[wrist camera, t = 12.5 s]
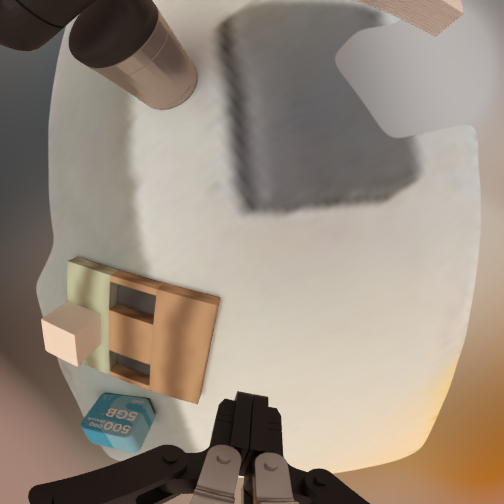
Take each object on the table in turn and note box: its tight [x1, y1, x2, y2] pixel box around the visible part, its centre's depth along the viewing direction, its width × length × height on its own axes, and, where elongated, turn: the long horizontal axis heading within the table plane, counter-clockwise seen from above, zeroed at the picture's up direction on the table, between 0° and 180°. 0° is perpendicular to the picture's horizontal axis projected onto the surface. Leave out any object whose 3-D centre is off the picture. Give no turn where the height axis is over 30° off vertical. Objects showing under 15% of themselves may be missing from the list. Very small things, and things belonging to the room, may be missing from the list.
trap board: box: [67, 257, 220, 404], centre depth 43 cm, size 26×20×3 cm
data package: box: [81, 393, 155, 452], centre depth 42 cm, size 12×4×12 cm, turn 96°
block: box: [41, 301, 101, 367], centre depth 37 cm, size 7×6×8 cm
